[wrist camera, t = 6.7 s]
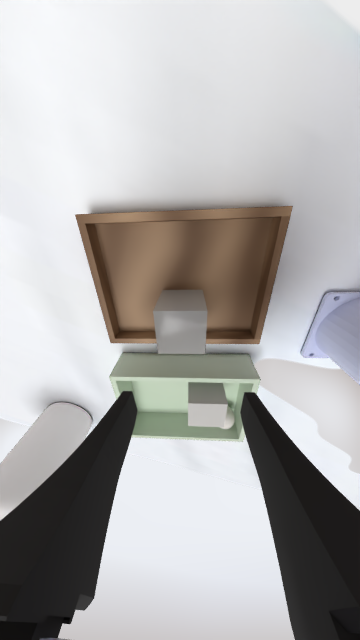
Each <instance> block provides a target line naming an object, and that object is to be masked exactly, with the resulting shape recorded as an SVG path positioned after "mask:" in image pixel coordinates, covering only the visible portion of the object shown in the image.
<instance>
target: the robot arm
mask: <svg viewBox="0 0 360 640" xmlns="http://www.w3.org/2000/svg"><path fill="white" fill-rule="evenodd" d="M336 296H337V297H336ZM334 297H336V298H335V299H334ZM310 353H311V354H310ZM301 355H302V356H303V357H305V358H330V359H331V360H332V361H334V362H335V363H336V364H337V365H338V366H339V367H340V368H341V369H343V370H344V371H345V372H346V373H347V374H348V375H349V376H350V377H351V378H353V379H354V380H355V381H356V382H357V383H358V384H359V385H360V292H329V293H327V294H325V295H324V297H323V299H322V302H321V304H320V307H319V309H318V312H317V314H316V317H315V319H314V322H313V324H312V327H311V329H310V332H309V334H308V337H307V339H306V342H305V344H304V347H303V349H302V352H301ZM137 411H138V410H137V406H136V403H135V399H134V395H133V391H123V392H122V393H121V394H120V396H119V397H118V399H117V400H116V401H115V403H114V404H113V405H112V407H111V408H110V409H109V411H108V412H107V413H106V414H105V416H104V417H103V418H102V420H101V421H100V422H99V423H98V425H97V426H96V427H95V428H94V429H93V431H92V432H91V433H90V434H89V435H88V436H87V438H86V439H85V440H84V441H83V442H82V443H81V444H80V446H79V447H78V448H77V449H76V450H75V451H74V452H73V453H72V454H71V455H70V456H69V457H68V458H67V460H66V461H65V462H64V463H63V464H62V465H61V466H60V467H59V468H58V469H57V470H56V471H55V472H54V473H53V474H52V475H51V476H50V477H48V478H47V479H46V480H45V481H44V482H43V483H42V484H41V485H40V486H39V487H38V488H37V489H36V490H35V491H33V492H32V493H31V494H30V495H29V496H28V497H27V498H26V499H25V500H23V501H22V502H21V503H20V504H19V505H18V506H17V507H16V508H15V509H13V510H12V511H11V512H10V513H9V514H8V515H6V516H5V517H4V518H3V519H2V520H0V640H67V639H59V638H58V635H59V632H60V629H61V626H62V623H64V624H71V622H72V618H73V615H74V612H75V610H85V609H86V608H87V607H88V606H89V605H90V603H91V602H92V600H93V599H94V596H95V590H96V584H97V579H98V574H99V568H100V563H101V557H102V552H103V547H104V542H105V537H106V533H107V528H108V523H109V518H110V514H111V509H112V504H113V500H114V496H115V491H116V487H117V483H118V479H119V475H120V472H121V468H122V465H123V462H124V459H125V456H126V452H127V449H128V446H129V443H130V440H131V436H132V433H133V430H134V426H135V421H136V416H137ZM240 414H241V419H242V424H243V428H244V432H245V435H246V438H247V442H248V445H249V448H250V451H251V454H252V457H253V460H254V464H255V467H256V470H257V473H258V476H259V480H260V483H261V487H262V491H263V495H264V499H265V503H266V507H267V512H268V516H269V520H270V525H271V529H272V533H273V538H274V543H275V548H276V552H277V557H278V562H279V566H280V571H281V576H282V581H283V586H284V591H285V596H286V601H287V606H288V611H289V617H290V622H291V626H292V630H293V634H294V637H295V640H360V511H359V510H358V509H357V508H356V507H355V506H354V505H353V504H352V503H351V502H350V501H349V500H348V499H347V498H346V497H345V496H344V495H343V494H342V493H340V492H339V491H338V490H337V489H336V488H335V487H334V486H333V485H332V484H331V483H330V482H329V481H328V480H327V479H326V478H325V477H324V476H323V475H322V473H321V472H320V471H319V470H318V469H317V468H316V467H315V466H314V465H313V464H312V463H311V462H310V461H309V460H308V459H307V457H306V456H305V455H304V454H303V453H302V452H301V451H300V450H299V448H298V447H297V446H296V445H295V444H294V443H293V441H292V440H291V439H290V438H289V437H288V436H287V434H286V433H285V432H284V431H283V429H282V428H281V427H280V426H279V424H278V423H277V422H276V421H275V419H274V418H273V417H272V415H271V414H270V413H269V411H268V410H267V409H266V407H265V406H264V405H263V403H262V402H261V400H260V399H259V398H258V396H257V395H256V393H255V392H244V396H243V401H242V406H241V411H240Z"/></svg>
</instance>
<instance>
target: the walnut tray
mask: <svg viewBox="0 0 360 640" xmlns="http://www.w3.org/2000/svg"><path fill="white" fill-rule="evenodd" d="M292 207H293V206H281V207H255V208H230V209H204V210H179V211H153V212H128V213H102V214H77V215H75V216H76V219H77V223H78V227H79V230H80V234H81V238H82V241H83V245H84V248H85V252H86V256H87V259H88V263H89V266H90V270H91V274H92V277H93V281H94V284H95V288H96V292H97V295H98V299H99V303H100V306H101V310H102V313H103V317H104V321H105V324H106V328H107V331H108V335H109V339H110V342H111V343H157V341H156V332H155V324H154V315H153V310H154V308H155V306H156V303H157V301H158V299H159V297H160V295H161V293H162V290H203V293H204V298H205V302H206V306H207V329H206V344H259V343H260V339H261V335H262V330H263V326H264V322H265V318H266V314H267V310H268V306H269V302H270V298H271V294H272V289H273V285H274V281H275V277H276V273H277V269H278V265H279V261H280V257H281V253H282V248H283V244H284V240H285V236H286V232H287V228H288V224H289V220H290V216H291V211H292Z"/></svg>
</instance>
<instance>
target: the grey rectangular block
mask: <svg viewBox="0 0 360 640" xmlns="http://www.w3.org/2000/svg"><path fill="white" fill-rule="evenodd" d="M227 406H228V403H227V399H226V394H225V390H224V385H223V383H208V382H188V426H201V427H224V423H225V418H226V412H227Z"/></svg>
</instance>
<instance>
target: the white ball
mask: <svg viewBox="0 0 360 640" xmlns="http://www.w3.org/2000/svg"><path fill="white" fill-rule="evenodd" d="M234 422H235V415H234V412H233V411H232V409H231V408H230V407H229V406H227V412H226V418H225V423H224V427H220V428H222V429H229V428H231V427H232V426H233V424H234Z"/></svg>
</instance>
